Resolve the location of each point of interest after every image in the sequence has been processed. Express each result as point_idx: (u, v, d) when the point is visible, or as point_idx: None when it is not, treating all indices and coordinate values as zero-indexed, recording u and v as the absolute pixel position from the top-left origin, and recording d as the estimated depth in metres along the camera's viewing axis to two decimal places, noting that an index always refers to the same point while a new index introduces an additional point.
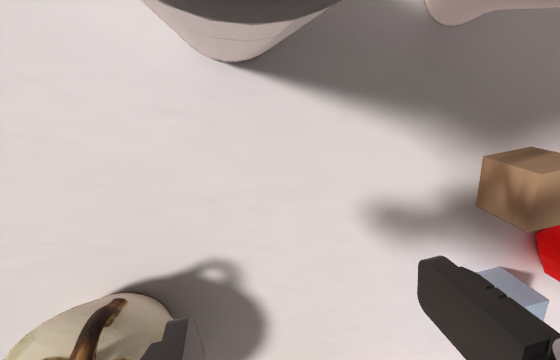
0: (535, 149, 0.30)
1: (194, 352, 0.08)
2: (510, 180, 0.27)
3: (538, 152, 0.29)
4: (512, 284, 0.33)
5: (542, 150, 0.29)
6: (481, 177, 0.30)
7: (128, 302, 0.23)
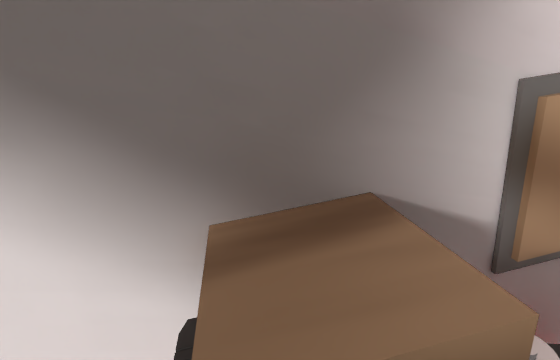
0: (369, 204, 0.09)
1: None
2: None
3: (363, 219, 0.09)
4: None
5: (383, 210, 0.09)
6: None
7: None
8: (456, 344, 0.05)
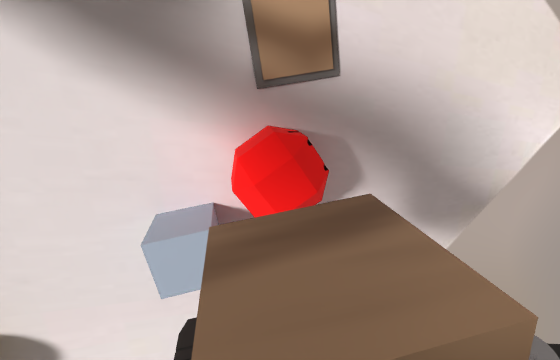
0: (369, 206, 0.09)
1: None
2: None
3: (362, 221, 0.09)
4: (197, 217, 0.27)
5: (382, 212, 0.09)
6: None
7: None
8: (455, 347, 0.05)
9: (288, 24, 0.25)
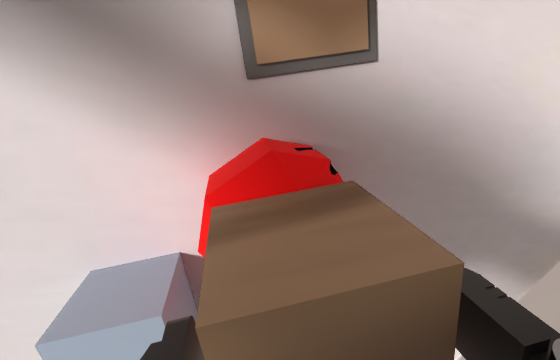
0: (349, 190, 0.11)
1: (194, 352, 0.08)
2: None
3: (342, 201, 0.10)
4: (149, 282, 0.17)
5: (360, 194, 0.10)
6: None
7: None
8: (399, 284, 0.06)
9: None
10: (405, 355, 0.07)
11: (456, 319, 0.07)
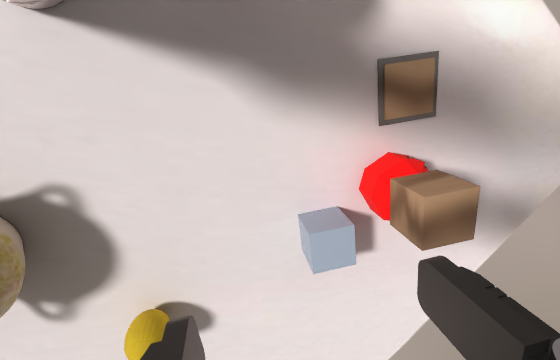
0: (438, 172, 0.32)
1: (194, 352, 0.08)
2: (408, 201, 0.29)
3: (438, 175, 0.31)
4: (335, 216, 0.38)
5: (443, 174, 0.32)
6: (391, 198, 0.33)
7: None
8: (465, 190, 0.27)
9: (406, 83, 0.36)
10: (465, 210, 0.28)
11: (477, 201, 0.28)
